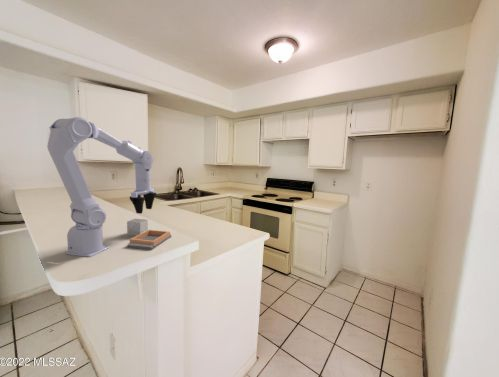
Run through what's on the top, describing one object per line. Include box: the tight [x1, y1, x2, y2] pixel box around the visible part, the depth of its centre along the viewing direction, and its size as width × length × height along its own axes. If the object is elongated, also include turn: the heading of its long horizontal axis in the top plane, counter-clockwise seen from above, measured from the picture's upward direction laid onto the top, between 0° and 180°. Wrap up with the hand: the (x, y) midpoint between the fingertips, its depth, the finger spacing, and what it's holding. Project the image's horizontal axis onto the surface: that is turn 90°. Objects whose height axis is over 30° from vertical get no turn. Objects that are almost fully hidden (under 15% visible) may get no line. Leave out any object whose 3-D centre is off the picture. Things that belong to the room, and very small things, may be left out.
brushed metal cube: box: [126, 218, 149, 237], centre depth 89 cm, size 6×5×6 cm
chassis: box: [127, 229, 172, 251], centre depth 82 cm, size 10×14×3 cm
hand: (144, 211), depth 89 cm, fingers open, 7 cm apart
